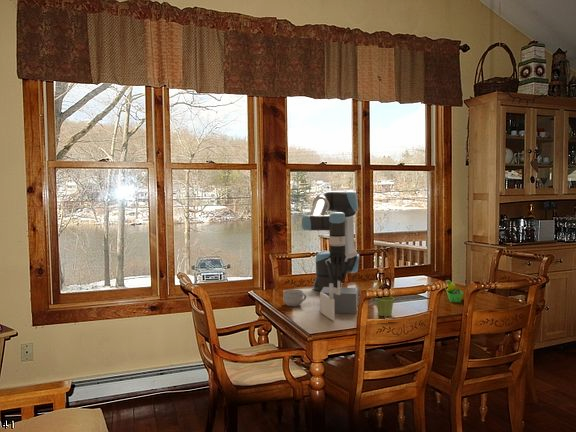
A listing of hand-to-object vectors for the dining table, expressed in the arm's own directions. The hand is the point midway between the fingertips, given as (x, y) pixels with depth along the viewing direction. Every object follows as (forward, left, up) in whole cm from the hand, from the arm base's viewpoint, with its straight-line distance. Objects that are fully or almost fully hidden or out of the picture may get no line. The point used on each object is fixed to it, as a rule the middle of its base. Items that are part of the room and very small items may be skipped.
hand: (337, 294), depth 221 cm
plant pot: (-10, +22, -12) cm, 27 cm away
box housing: (-18, -1, -12) cm, 22 cm away
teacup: (-22, -25, -12) cm, 36 cm away
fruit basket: (-47, +59, -12) cm, 76 cm away
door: (-3, -6, -12) cm, 13 cm away
